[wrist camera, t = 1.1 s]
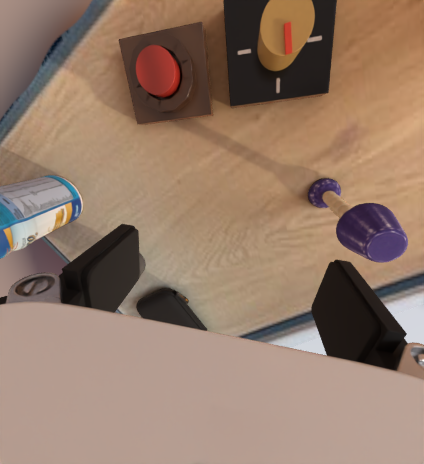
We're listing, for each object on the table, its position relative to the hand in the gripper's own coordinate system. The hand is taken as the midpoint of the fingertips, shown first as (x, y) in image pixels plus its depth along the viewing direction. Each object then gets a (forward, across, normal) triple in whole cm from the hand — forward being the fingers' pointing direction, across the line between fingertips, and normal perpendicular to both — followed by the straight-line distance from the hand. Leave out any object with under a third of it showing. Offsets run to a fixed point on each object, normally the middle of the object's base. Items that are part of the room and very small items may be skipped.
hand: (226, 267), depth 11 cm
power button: (+20, +11, -11) cm, 25 cm away
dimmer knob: (+21, -2, -15) cm, 26 cm away
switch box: (+24, +11, -11) cm, 28 cm away
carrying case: (+24, +8, +30) cm, 39 cm away
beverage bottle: (+24, +30, +8) cm, 39 cm away
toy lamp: (+24, -12, +1) cm, 27 cm away
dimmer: (+24, -2, -15) cm, 28 cm away
